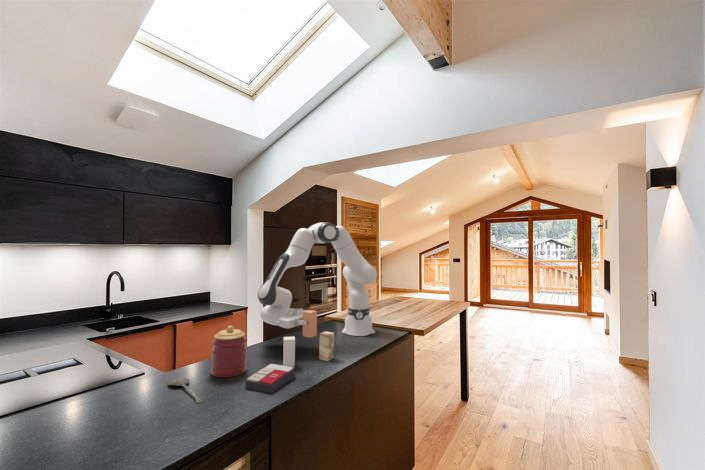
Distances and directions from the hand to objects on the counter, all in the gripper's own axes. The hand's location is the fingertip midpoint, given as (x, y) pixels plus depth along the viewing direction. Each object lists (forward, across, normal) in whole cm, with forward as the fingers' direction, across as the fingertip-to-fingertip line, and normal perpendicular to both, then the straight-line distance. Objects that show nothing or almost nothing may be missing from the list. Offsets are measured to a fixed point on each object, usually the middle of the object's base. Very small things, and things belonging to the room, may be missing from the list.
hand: (311, 321), depth 150 cm
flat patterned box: (+7, -32, +15) cm, 36 cm away
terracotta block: (-1, 0, +7) cm, 7 cm away
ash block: (+9, 0, +15) cm, 17 cm away
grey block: (+1, -16, +15) cm, 21 cm away
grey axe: (-11, -52, +15) cm, 56 cm away
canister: (-13, -34, +14) cm, 39 cm away
